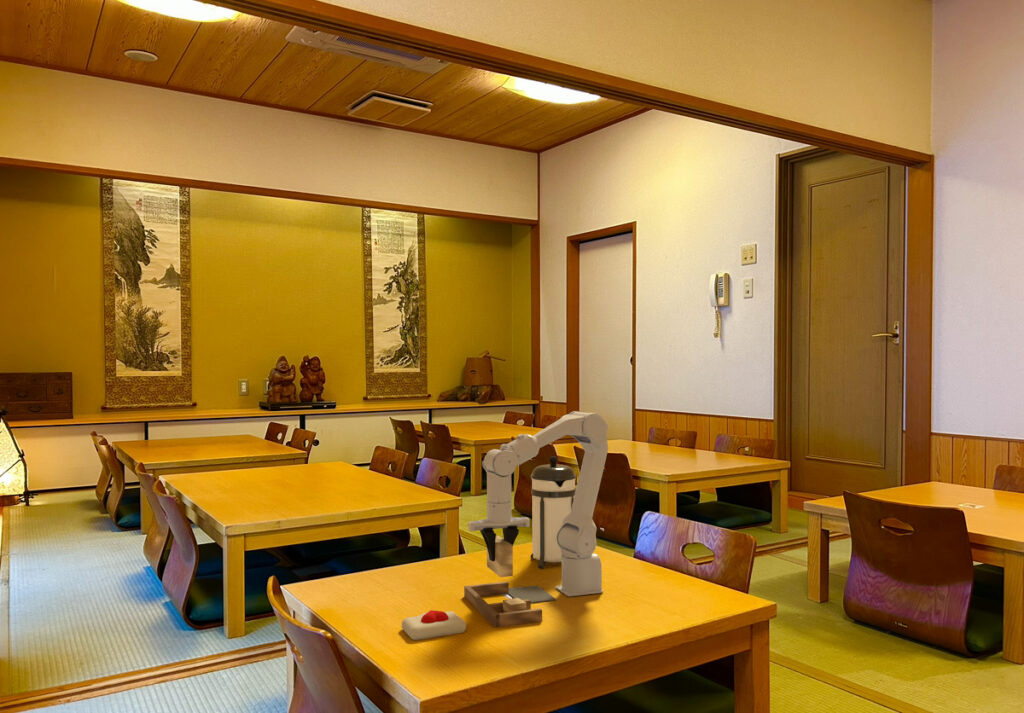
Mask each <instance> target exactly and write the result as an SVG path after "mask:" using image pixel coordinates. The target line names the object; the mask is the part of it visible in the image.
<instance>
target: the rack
mask: <svg viewBox="0 0 1024 713" xmlns="http://www.w3.org/2000/svg"><path fill="white" fill-rule="evenodd" d="M509 584H510V583H509V581H500V582H491V583H490V582H489V583H481V584H473V585H472V584H471V585H464V587H463V588H464V589H463V591H464V592H463V593H464V594H463V595H464V596H463V597H464V598H465V599H466V600H467V601H468V602H469V603H470V604H471V605H472V606H473V607H474V608H475V609H476V610H477V611H478V612H479V613H480V614H481V615H482V616H483V617H484V619H486V621H487V622H489V624H490V625H491V626H492V627H493V628H499V627H508V626H516V625H524V624H530V623H531V624H532V623H537V622H538V623H540V622H543V609H542V608H533V609H532V606H531V605H532V603H531V600H529V599H526V600H522V601H524V602H526V610H523V611H515V612H506V613H503V601H502V602H493V603H488V602H487V601H486V600H485V599H484V598H483V596H493V595H502V594H508V593H507V592H509Z"/></svg>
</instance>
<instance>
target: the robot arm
mask: <svg viewBox="0 0 1024 713" xmlns="http://www.w3.org/2000/svg"><path fill="white" fill-rule="evenodd" d="M608 429H609V425H608V423H607V421H606V420H605V418H604V417H603V416H602V415H601V414H599V413H598V412H585V411H584V412H582V411H578V410H574V411H571V412H570V413H568V414H565V415H563V416H561V417H560V418H559V419H558V420H555V421H554V422H552V423H551V424H549V425H547V426H546V427H545V428H543V429H541V430H539V431H538V432H537V433H535V434H534V435H531V434H528V433H525V434H523V433H520V434H518V435H516V439H513V440H512V441H510V442H508V443H502V444H501V445H500V448H499V449H496V448H493V449H491V450H488V452H487V453H486V455H484V458H483V460H482V461H481V463H482V464H481V465H482V468H483V470H485V472H486V518H485V519H480V520H479V519H478V520H472V521H468V522H467V523H468V531H469V532H472V533H473V532H475V531H480V533H481V536H482V538H483V540H484V543H485V545H486V550H487V549H488V553H489V559H490V560H491V561H495V540H496V536H497V533H496V532H495V529H496V530H497V529H502V535H503V539H504V540H505V541H507V542H508V543H510V544H511V545H513V546H514V543H515V541H516V539H517V537H518V536H519V532H520V529H519V528H520V527H521V528H522V527H524V528H529V527H531V526H530V525H531V523H530V522H531V520H530V518H529V517H527V516H524V517H521V516H520V517H518V516H517V517H512V512H513V511H512V474H513V473H514V472H515V470H516V468H517V467H519V466H521V465H522V464H524V463H526V462H528V461H529V460H531V459H533V458H535V457H536V456H537V455H538V454H539V451H540V448H543V447H545V446H546V445H548V444H551V443H553V442H554V441H557V440H560V439H561V438H563V437H565V436H571V437H572V438H574V439H575V440H576V441H577V442H578V443H579V444H580V446H581V447H582V449H583V451H584V455H583V459H582V463H581V468H580V471H579V475H578V479H577V480H578V481H577V483H576V484H577V485H576V487H575V488H576V492H575V496H574V500H573V505H572V509H571V513H570V514H569V515H567V516H566V517H565V518H564V519H563V523H562V526H561V527H560V529H559V530H558V532H557V535H556V541H557V544H558V546H559V547H560V548H561V553H562V562H561V584H560V585H556V586H555V589H556V590H558V591H560V592H561V593H562V594H564V595H565V596H567V597H577V596H578V597H579V596H585V595H593V594H602V593H603V592H604V590H603V587H602V586H603V585H602V583H603V581H602V578H603V577H602V576H603V575H602V571H603V570H602V561H601V558H600V556H599V555H598V554H597V553H594V552H595V550H596V549H597V548H596V547H597V535H596V534H597V526H596V524H595V521H594V520H593V517H594V512H595V508H596V503H597V499H598V493H599V491H600V486H601V481H602V478H603V473H604V470H605V468H604V467H605V464H606V460H607V455H608V452H609V443H608V439H607V438H608V437H607V431H608Z"/></svg>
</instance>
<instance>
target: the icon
mask: <svg viewBox="0 0 1024 713" xmlns="http://www.w3.org/2000/svg"><path fill="white" fill-rule="evenodd" d="M401 629H402V630H403V631H404V633H406V635H408V636H409V638H410V639H411V640H413V641H419V640H420V641H421V640H426V639H431V638H432V639H433V638H438V637H444V636H450V635H451V636H452V635H456V634H457V635H458V634H463V633H464V632H465V631H466V629H467V623H466V621H465V620H464V619H462V618H461V617H460V616H458V615H457V614H456V613H455V612H454V611H452V610H451V611H442V610H433V609H430V610H428V611H426V612H424V613H422V614H420V615H416V616H409V617H405V618H404V619H403V620H402V621H401Z"/></svg>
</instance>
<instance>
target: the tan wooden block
mask: <svg viewBox="0 0 1024 713" xmlns="http://www.w3.org/2000/svg"><path fill="white" fill-rule="evenodd" d="M513 547H514V544H513V545H511V544H510V543H508V542H507V541H505V540H504V538H502V537H501V536H499V535H496V540H495V561H491V560H490V559H489V553H488V549H487V548H486V567H487V568H488V569H490V571H492V572H494V574H496V575H497V576H498V577H499V578H507V577H513V576H514V559H513V558H514V554H513V553H514V551H513V550H514V549H513Z"/></svg>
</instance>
